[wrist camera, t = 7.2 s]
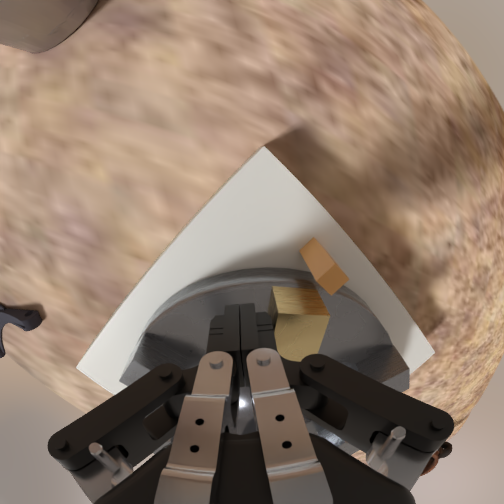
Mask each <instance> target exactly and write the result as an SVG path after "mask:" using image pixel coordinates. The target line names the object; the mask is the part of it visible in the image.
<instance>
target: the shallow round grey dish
mask: <svg viewBox="0 0 504 504" xmlns="http://www.w3.org/2000/svg"><path fill="white" fill-rule="evenodd" d="M246 303H255V312H267V313H268V314H269V315H270V316H271V319H272V325H273V330H274V335H275V340H276V346H277V351H278V353H279V354H280V355H281V356H282V357H283V358H285V359H287V360H291V361H299V362H301V360H302V359H303V358H304V357H306V356H308V355H311V354H323V355H326V356H328V357H330V358H332V359H334V360H336V361H338V362H340V363H342V364H344V365H346V366H348V367H350V368H352V369H354V370H356V371H358V372H360V373H362V374H364V375H366V376H368V377H370V378H372V379H374V380H376V381H378V382H380V383H382V384H384V385H386V386H389V387H391V388H393V389H395V390H397V391H399V392H403V391H405V390H407V389H409V375H410V368H409V367H408V365H407V364H406V362H405V361H404V359H403V358H402V356H401V355H400V353H399V352H398V350H397V349H396V348H395V346H394V345H393V344H392V342H391V339H390V337H389V334H388V333H387V331H386V330H385V328H384V327H383V325H382V324H381V323H380V321H379V320H378V319H377V317H376V316H375V314H374V313H373V312H372V310H371V309H370V308H369V306H368V305H367V304H366V302H365V301H363V300H362V299H361V298H360V297H359V296H358V295H357V294H356V293H355V292H353V291H352V290H350V289H349V288H347V287H346V286H344V285H343V286H342V287H341V288H339V289H338V290H337V291H336V292H335V293H334V294H333V295H332V296H331V295H330V294H329V293H328V292H327V291H326V290H325V289H324V288H323V287H322V286H321V285H320V284H319V283H318V282H317V281H316V280H315V278H314V276H313V275H312V273H311V272H308V271H302V270H296V269H290V268H270V267H264V268H251V269H242V270H237V271H232V272H227V273H222V274H219V275H216V276H213V277H210V278H206V279H203V280H201V281H199V282H197V283H195V284H192V285H190V286H188V287H186V288H184V289H183V290H181V291H179V292H178V293H176V294H175V295H173V296H172V297H170V298H169V299H168V300H167V301H166V302H164V303H163V304H162V305H161V306H160V307H159V308H158V309H157V310H156V311H155V312H154V314H153V315H152V316H151V317H150V319H149V320H148V321H147V323H146V325H145V327H144V329H143V331H142V333H141V335H140V337H139V339H138V341H137V344H136V346H135V348H134V349H133V351H132V353H131V354H130V356H129V359H128V361H127V363H126V365H125V368H124V370H123V372H122V375H121V377H120V379H119V382H121V383H123V384H125V385H126V386H129V385H130V384H132V383H133V382H135V381H136V380H138V379H139V378H141V377H142V376H144V375H145V374H146V373H148V372H149V371H151V370H152V369H154V368H155V367H157V366H159V365H161V364H165V363H172V364H175V365H177V366H179V367H180V368H181V370H185V369H189V368H192V367H195V366H197V365H199V363H200V360H201V358H202V357H203V356H204V355H206V350H207V343H208V335H209V330H210V329H209V328H210V322H211V320H212V319H213V318H214V317H215V315H224V311H225V305H234V304H239V305H240V304H246ZM244 380H245V375H244ZM239 400H240V403H239V415H238V427H237V434H238V435H244V434H248V433H252V432H255V431H256V425H255V420H254V414H253V408H252V402H251V394H250V387H246V382H245V387H240V396H239ZM161 406H162V405H161ZM159 407H160V406H159ZM159 407H158V408H159ZM158 408H157V409H158ZM154 411H155V410H154ZM154 411H153V412H154ZM150 414H151V413H150ZM150 414H149V415H150ZM302 415H303V414H302ZM146 417H147V416H146ZM146 417H145V418H146ZM303 418H304V421H305V424H306V427H307V430H308V432H309V433H312V434H316V435H318V436H321V437H323V438H325V439H326V440H328V441H330V442H331V443H333V444H334V445H335V446H337V447H339V448H340V449H342V450H343V451H345V452H346V453H348V454H349V455H352V454H353V453H355V452H357V451H358V450H360V449H358V448H356V447H354V446H353V445H351V444H349V443H347V442H346V441H344V440H342V439H341V438H339V437H337V436H336V435H334V434H332V433H331V432H329V431H328V430H326V429H324V428H323V427H321V426H320V425H318V424H317V423H315V422H313V421H312V420H310V419H309V418H307V417H306V416H304V415H303ZM174 436H175V435H174ZM174 436H173V437H172V438H170V439H169V440H168V441H167V442H165V443H164V444H163V445H162V446H160V447H159V448H158V449H157V450H155V451H154V452H153V453H154V454H156V453H157V452H158V451H159V450H161V449H162V448H163V447H164V446H166V445H167V444H169V443H171V442H173V440H174Z"/></svg>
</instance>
